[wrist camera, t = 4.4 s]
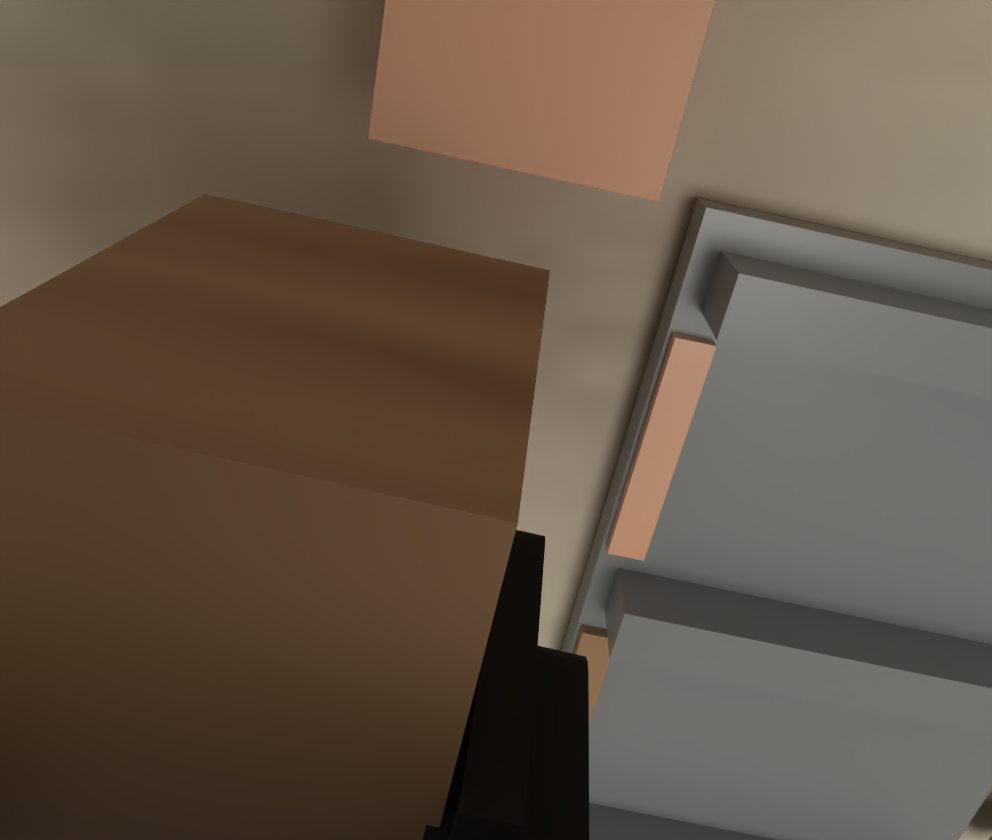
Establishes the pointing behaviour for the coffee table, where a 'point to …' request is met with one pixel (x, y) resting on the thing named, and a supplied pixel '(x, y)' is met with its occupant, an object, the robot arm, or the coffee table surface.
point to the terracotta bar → (542, 85)
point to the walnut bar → (254, 527)
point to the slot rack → (798, 547)
